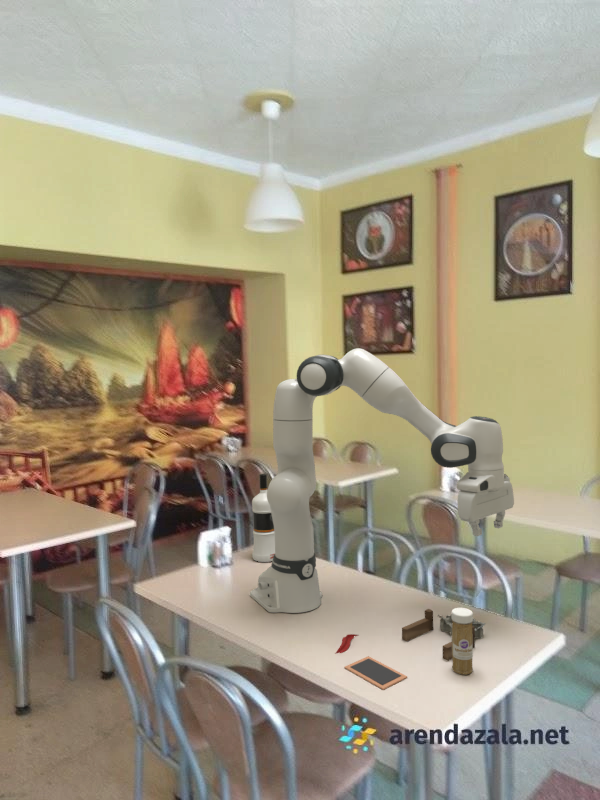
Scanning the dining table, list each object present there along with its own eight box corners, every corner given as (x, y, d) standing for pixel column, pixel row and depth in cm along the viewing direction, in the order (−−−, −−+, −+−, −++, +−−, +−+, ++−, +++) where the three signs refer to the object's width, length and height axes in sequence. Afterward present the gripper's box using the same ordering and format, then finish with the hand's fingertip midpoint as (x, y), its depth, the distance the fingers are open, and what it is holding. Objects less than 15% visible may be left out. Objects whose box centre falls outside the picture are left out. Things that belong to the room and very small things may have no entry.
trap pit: (344, 668, 137) (344, 666, 137) (368, 657, 142) (368, 655, 142) (383, 690, 128) (383, 688, 128) (407, 677, 132) (407, 676, 132)
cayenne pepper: (353, 634, 155) (353, 627, 155) (368, 639, 152) (368, 632, 152) (322, 651, 146) (322, 643, 146) (337, 657, 143) (337, 649, 143)
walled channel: (402, 639, 150) (401, 619, 150) (428, 627, 156) (428, 608, 156) (447, 660, 139) (447, 639, 139) (474, 647, 145) (474, 626, 145)
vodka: (252, 555, 218) (250, 471, 216) (278, 553, 219) (276, 471, 217) (252, 563, 209) (249, 477, 207) (279, 562, 209) (276, 476, 207)
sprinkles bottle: (457, 676, 132) (457, 616, 131) (448, 666, 137) (447, 607, 136) (477, 674, 133) (476, 614, 132) (467, 663, 138) (467, 605, 137)
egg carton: (435, 629, 156) (435, 613, 156) (456, 622, 160) (456, 607, 160) (466, 645, 147) (466, 629, 147) (488, 637, 151) (488, 621, 150)
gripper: (498, 471, 167) (499, 521, 168) (452, 484, 154) (454, 537, 155) (519, 473, 162) (520, 525, 163) (473, 487, 149) (475, 542, 150)
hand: (488, 531), depth 159 cm, fingers open, 8 cm apart
